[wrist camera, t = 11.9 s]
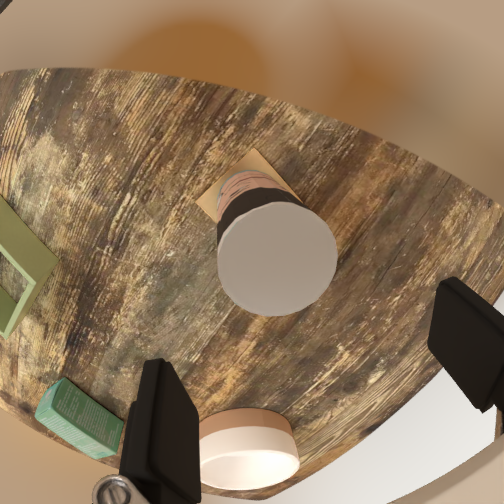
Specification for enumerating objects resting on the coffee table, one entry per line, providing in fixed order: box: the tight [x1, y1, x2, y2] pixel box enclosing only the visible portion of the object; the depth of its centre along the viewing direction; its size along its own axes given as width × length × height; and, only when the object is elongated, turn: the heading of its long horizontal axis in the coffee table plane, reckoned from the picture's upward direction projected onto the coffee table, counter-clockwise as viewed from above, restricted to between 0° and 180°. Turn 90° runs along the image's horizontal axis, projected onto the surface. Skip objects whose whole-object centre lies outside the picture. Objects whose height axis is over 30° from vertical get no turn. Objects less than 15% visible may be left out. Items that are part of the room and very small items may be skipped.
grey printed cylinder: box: [217, 170, 338, 316], centre depth 23 cm, size 7×7×15 cm
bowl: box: [199, 408, 300, 490], centre depth 42 cm, size 17×17×8 cm
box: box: [35, 377, 124, 459], centre depth 36 cm, size 7×14×8 cm, turn 36°
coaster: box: [195, 148, 304, 223], centre depth 30 cm, size 8×8×1 cm
